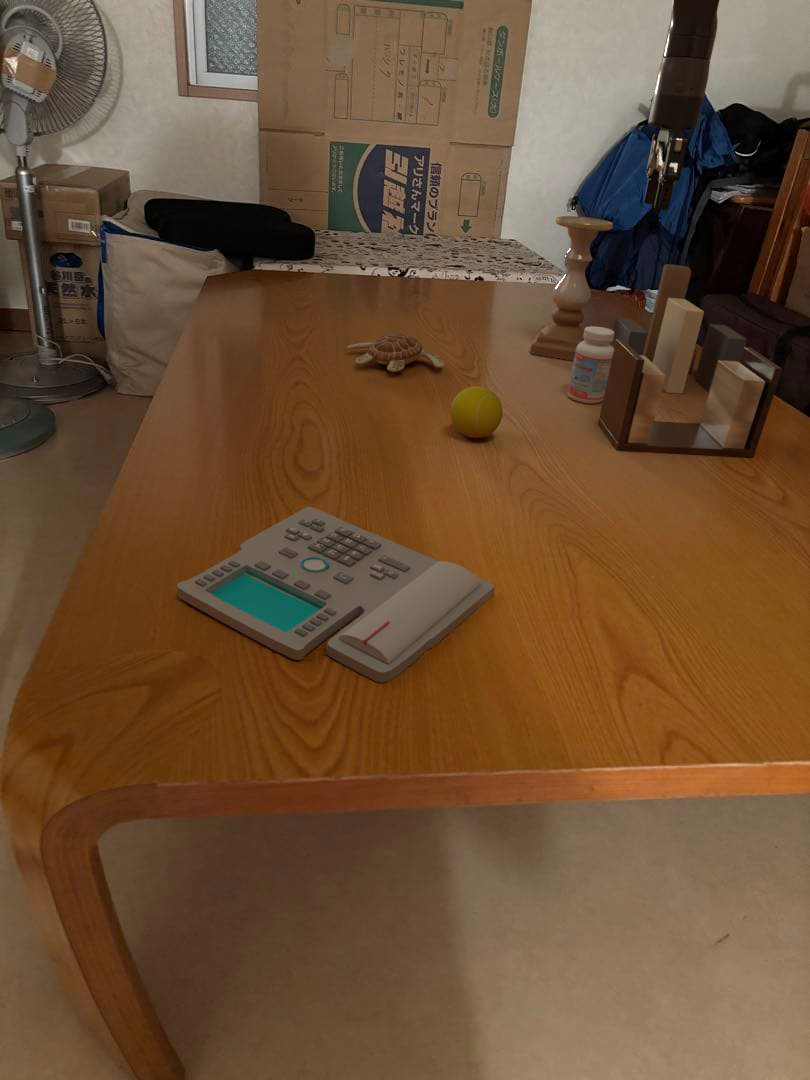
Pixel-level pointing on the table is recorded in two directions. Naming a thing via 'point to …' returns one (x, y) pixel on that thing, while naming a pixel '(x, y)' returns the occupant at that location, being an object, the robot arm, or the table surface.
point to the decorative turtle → (395, 351)
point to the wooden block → (670, 287)
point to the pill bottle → (591, 366)
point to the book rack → (725, 421)
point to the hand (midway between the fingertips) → (655, 206)
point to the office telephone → (337, 594)
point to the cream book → (677, 342)
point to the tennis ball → (476, 412)
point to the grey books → (716, 347)
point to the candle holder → (570, 291)
